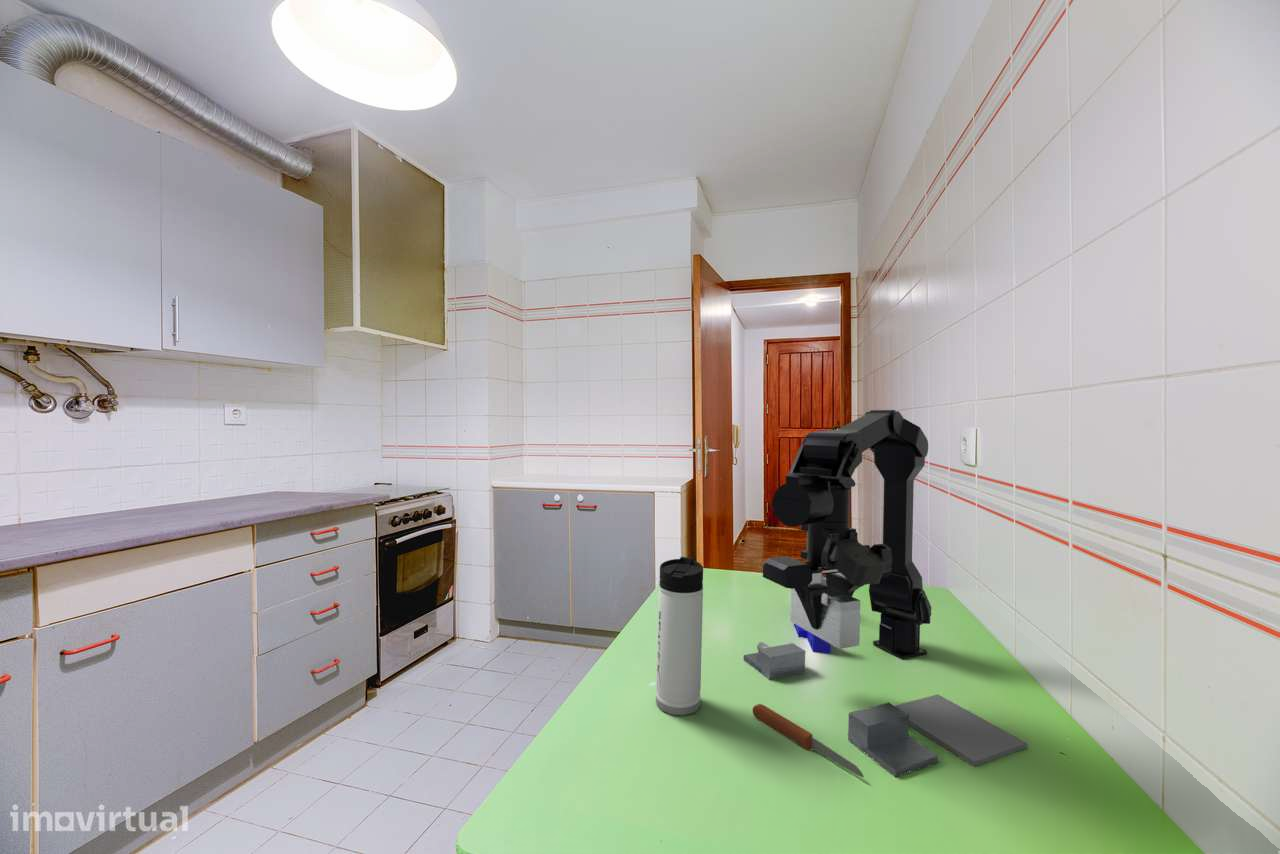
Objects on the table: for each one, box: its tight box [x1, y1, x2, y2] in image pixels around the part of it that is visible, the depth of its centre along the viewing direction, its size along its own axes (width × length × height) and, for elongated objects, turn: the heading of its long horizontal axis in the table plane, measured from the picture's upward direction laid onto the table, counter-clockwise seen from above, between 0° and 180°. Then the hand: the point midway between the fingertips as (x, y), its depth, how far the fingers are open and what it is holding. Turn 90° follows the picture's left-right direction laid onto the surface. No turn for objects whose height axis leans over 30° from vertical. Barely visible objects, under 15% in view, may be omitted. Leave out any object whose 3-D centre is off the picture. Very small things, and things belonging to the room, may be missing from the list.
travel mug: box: [655, 556, 704, 716], centre depth 70 cm, size 6×7×20 cm
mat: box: [894, 694, 1028, 767], centre depth 66 cm, size 10×12×1 cm
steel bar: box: [790, 589, 861, 650], centre depth 72 cm, size 4×10×6 cm, turn 22°
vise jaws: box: [743, 641, 939, 777], centre depth 71 cm, size 7×30×4 cm, turn 22°
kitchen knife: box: [752, 703, 865, 778], centre depth 61 cm, size 16×1×2 cm, turn 36°
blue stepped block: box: [793, 623, 832, 655], centre depth 93 cm, size 12×4×6 cm, turn 171°
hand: (825, 626), depth 71 cm, fingers closed on steel bar, 3 cm apart
